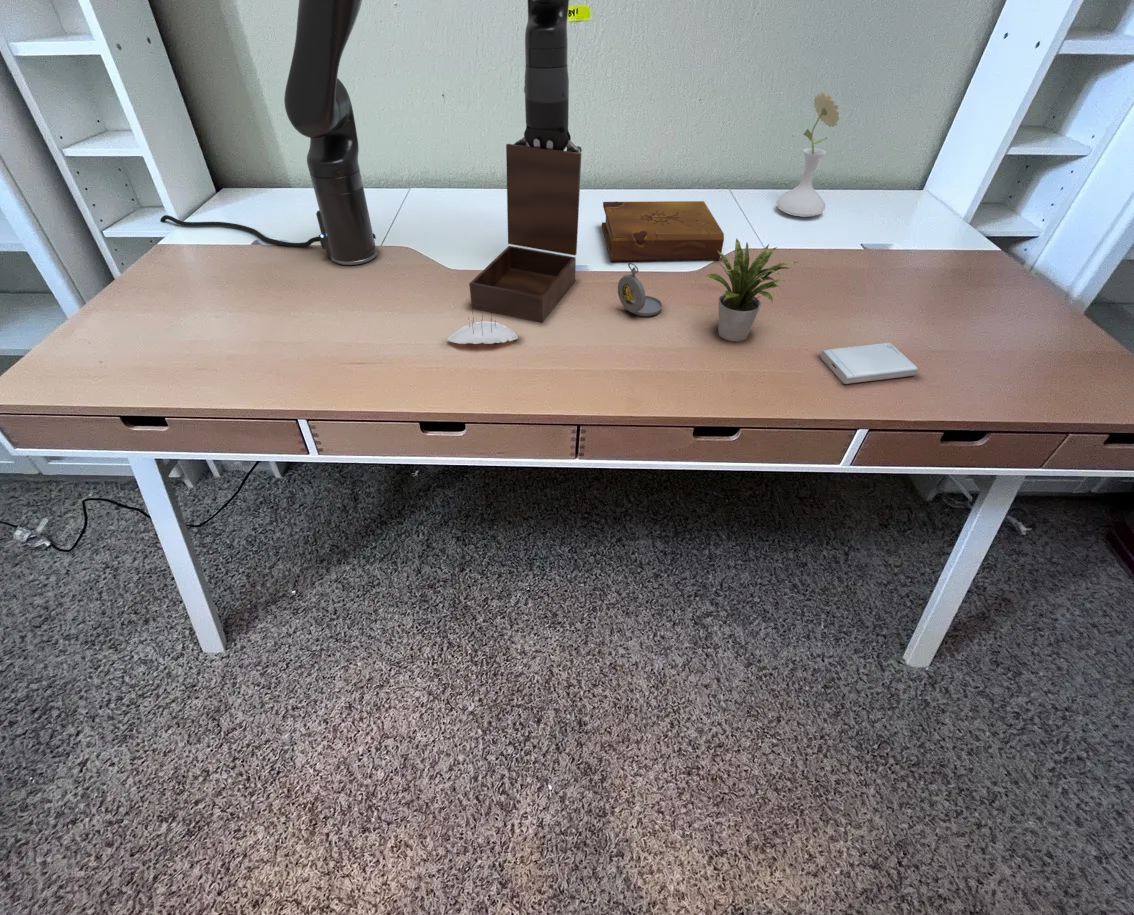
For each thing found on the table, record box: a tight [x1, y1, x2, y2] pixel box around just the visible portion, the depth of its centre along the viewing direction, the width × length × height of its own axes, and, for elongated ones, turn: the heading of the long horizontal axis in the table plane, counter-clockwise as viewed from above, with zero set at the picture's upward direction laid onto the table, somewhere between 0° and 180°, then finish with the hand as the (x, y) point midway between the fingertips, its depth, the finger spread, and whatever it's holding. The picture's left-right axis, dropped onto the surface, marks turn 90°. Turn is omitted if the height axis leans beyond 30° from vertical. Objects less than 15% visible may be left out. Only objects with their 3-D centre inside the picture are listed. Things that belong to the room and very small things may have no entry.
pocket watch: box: [617, 262, 663, 317], centre depth 112 cm, size 8×8×10 cm
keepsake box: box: [468, 245, 577, 324], centre depth 118 cm, size 17×14×5 cm
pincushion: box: [446, 306, 519, 347], centre depth 105 cm, size 12×6×6 cm, turn 95°
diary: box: [601, 200, 725, 262], centre depth 135 cm, size 23×19×6 cm
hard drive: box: [819, 342, 919, 385], centre depth 102 cm, size 2×8×12 cm
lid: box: [505, 143, 582, 256], centre depth 117 cm, size 18×14×1 cm
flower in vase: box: [775, 91, 840, 218], centre depth 143 cm, size 13×11×25 cm
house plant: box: [706, 238, 798, 342], centre depth 103 cm, size 14×14×16 cm
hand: (547, 197), depth 119 cm, fingers closed
